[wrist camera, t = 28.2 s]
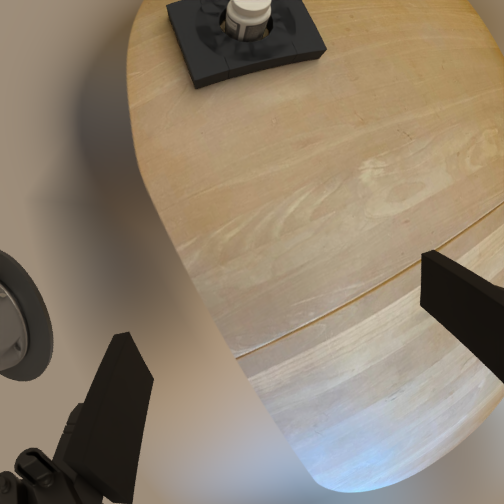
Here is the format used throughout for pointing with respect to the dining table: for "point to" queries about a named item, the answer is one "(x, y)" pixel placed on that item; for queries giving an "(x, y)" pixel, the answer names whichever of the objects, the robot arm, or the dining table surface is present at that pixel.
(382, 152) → the dining table surface
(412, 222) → the dining table surface
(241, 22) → the pill bottle
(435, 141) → the dining table surface
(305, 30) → the black rectangular holder
